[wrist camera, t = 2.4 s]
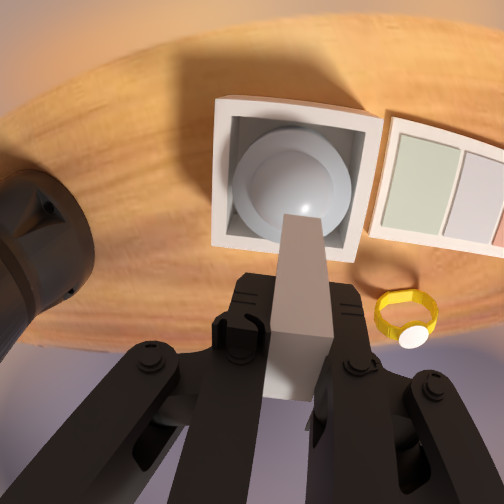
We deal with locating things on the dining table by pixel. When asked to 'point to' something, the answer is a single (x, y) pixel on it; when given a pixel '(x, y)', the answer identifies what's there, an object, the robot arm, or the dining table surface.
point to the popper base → (291, 114)
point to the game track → (440, 190)
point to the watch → (411, 331)
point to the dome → (290, 181)
